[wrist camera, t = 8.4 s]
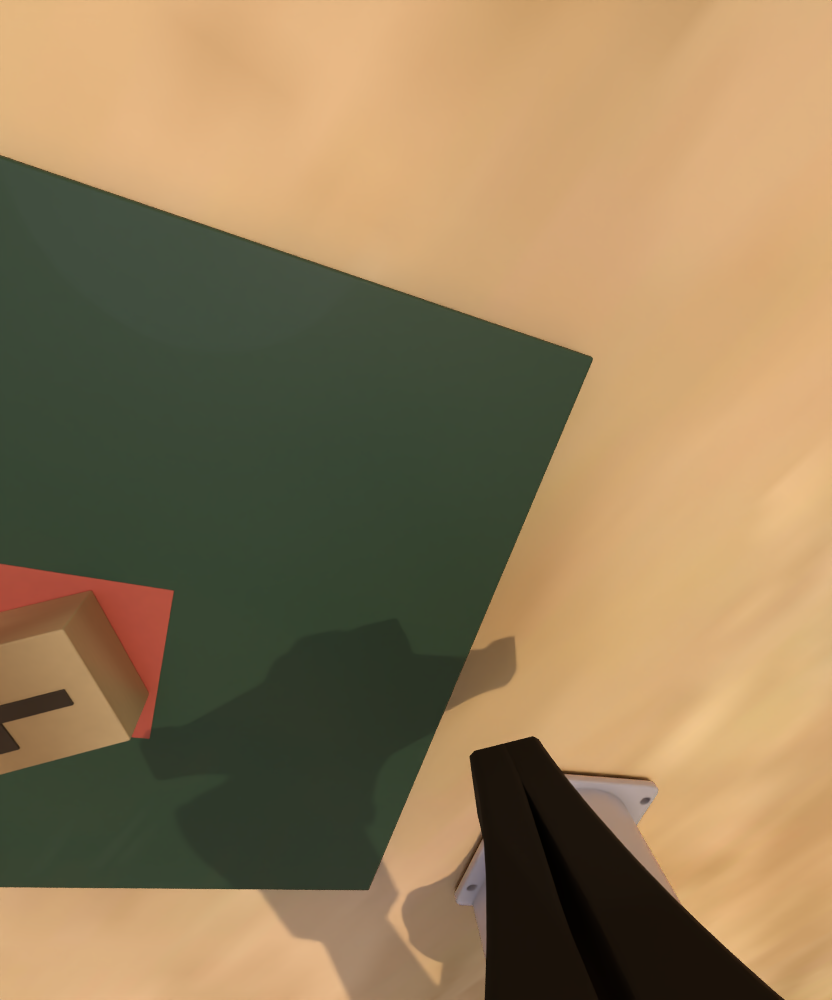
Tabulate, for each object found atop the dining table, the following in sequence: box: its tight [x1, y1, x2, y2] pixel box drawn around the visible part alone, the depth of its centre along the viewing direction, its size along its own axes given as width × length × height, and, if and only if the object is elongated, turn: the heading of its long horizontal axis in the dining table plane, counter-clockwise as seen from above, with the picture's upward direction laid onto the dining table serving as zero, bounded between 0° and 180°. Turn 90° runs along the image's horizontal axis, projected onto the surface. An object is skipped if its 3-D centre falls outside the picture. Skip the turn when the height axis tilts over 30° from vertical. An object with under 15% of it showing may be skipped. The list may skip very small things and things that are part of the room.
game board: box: [0, 155, 593, 890], centre depth 17 cm, size 26×26×1 cm
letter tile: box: [0, 590, 149, 775], centre depth 16 cm, size 4×4×2 cm
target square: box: [0, 564, 174, 739], centre depth 17 cm, size 6×6×1 cm
